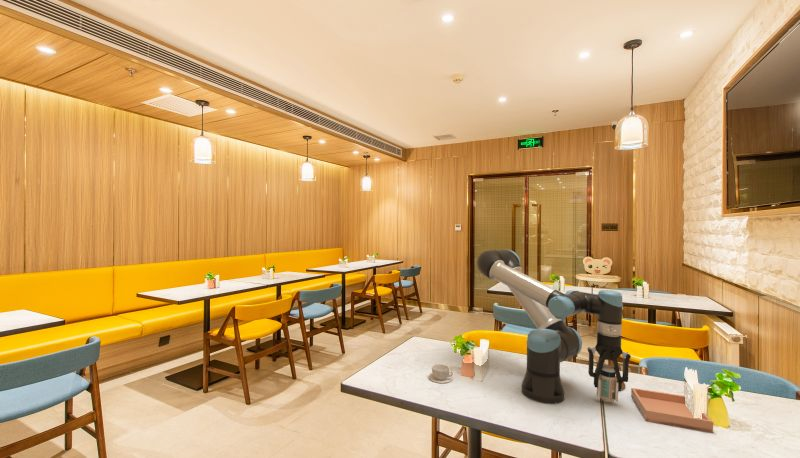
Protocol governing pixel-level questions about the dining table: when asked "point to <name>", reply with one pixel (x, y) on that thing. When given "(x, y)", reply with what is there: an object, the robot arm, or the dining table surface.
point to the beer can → (607, 383)
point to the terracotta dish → (668, 410)
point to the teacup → (441, 373)
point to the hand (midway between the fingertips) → (607, 397)
